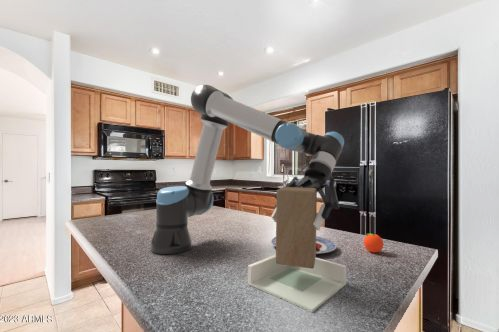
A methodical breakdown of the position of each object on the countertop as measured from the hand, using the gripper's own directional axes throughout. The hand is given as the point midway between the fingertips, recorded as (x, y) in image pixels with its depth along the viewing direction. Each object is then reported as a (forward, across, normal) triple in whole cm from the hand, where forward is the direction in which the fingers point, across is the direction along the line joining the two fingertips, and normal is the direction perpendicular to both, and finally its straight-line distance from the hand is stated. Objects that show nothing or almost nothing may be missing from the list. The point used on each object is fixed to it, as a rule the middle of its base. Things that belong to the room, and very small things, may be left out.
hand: (293, 223), depth 69 cm
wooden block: (+6, 0, -9) cm, 11 cm away
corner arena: (+12, -2, -12) cm, 17 cm away
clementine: (-20, -7, -44) cm, 49 cm away
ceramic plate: (-10, +15, -34) cm, 38 cm away
